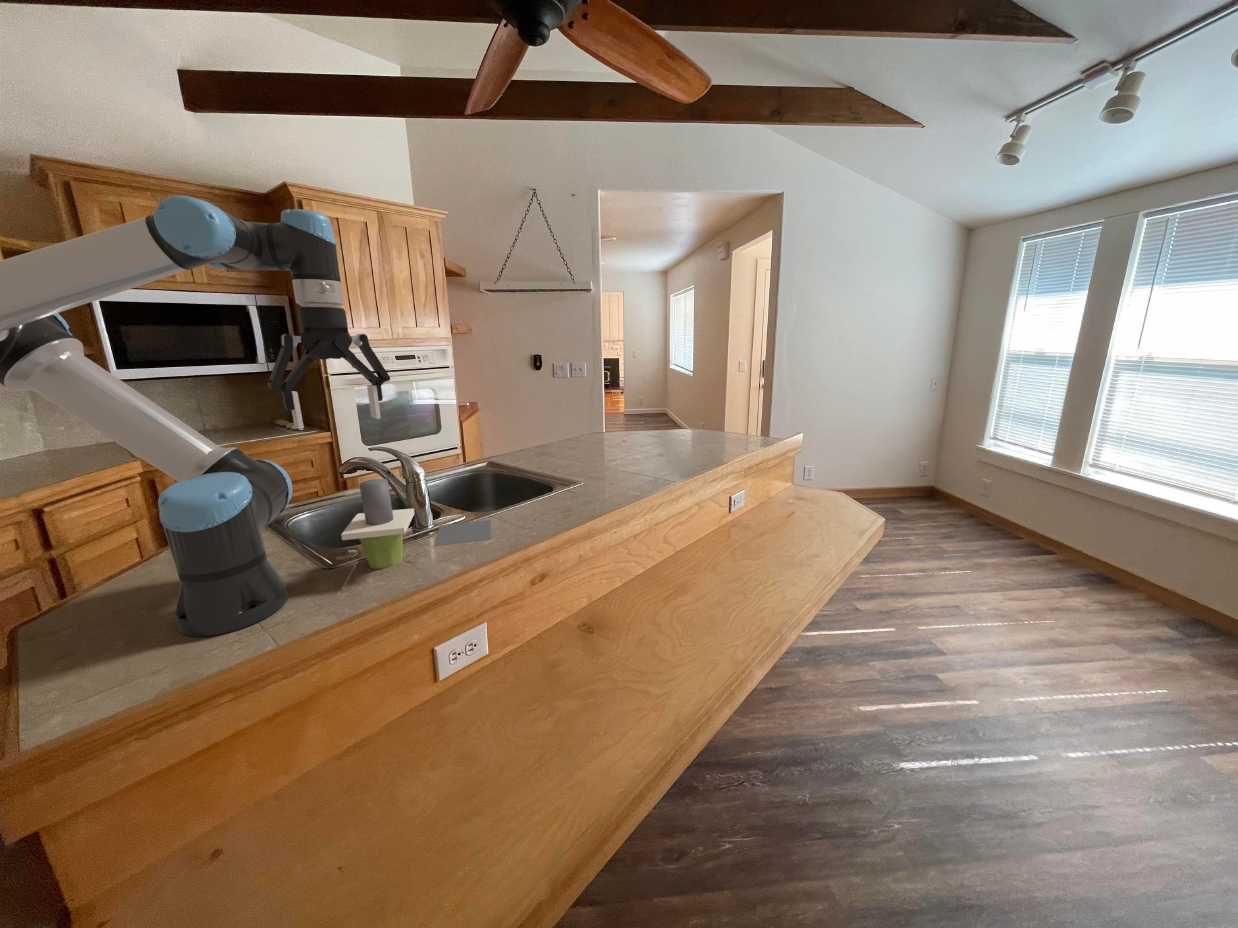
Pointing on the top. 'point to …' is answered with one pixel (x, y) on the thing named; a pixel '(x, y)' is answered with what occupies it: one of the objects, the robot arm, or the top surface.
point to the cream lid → (377, 513)
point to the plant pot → (383, 550)
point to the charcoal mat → (463, 532)
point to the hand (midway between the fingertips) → (339, 422)
